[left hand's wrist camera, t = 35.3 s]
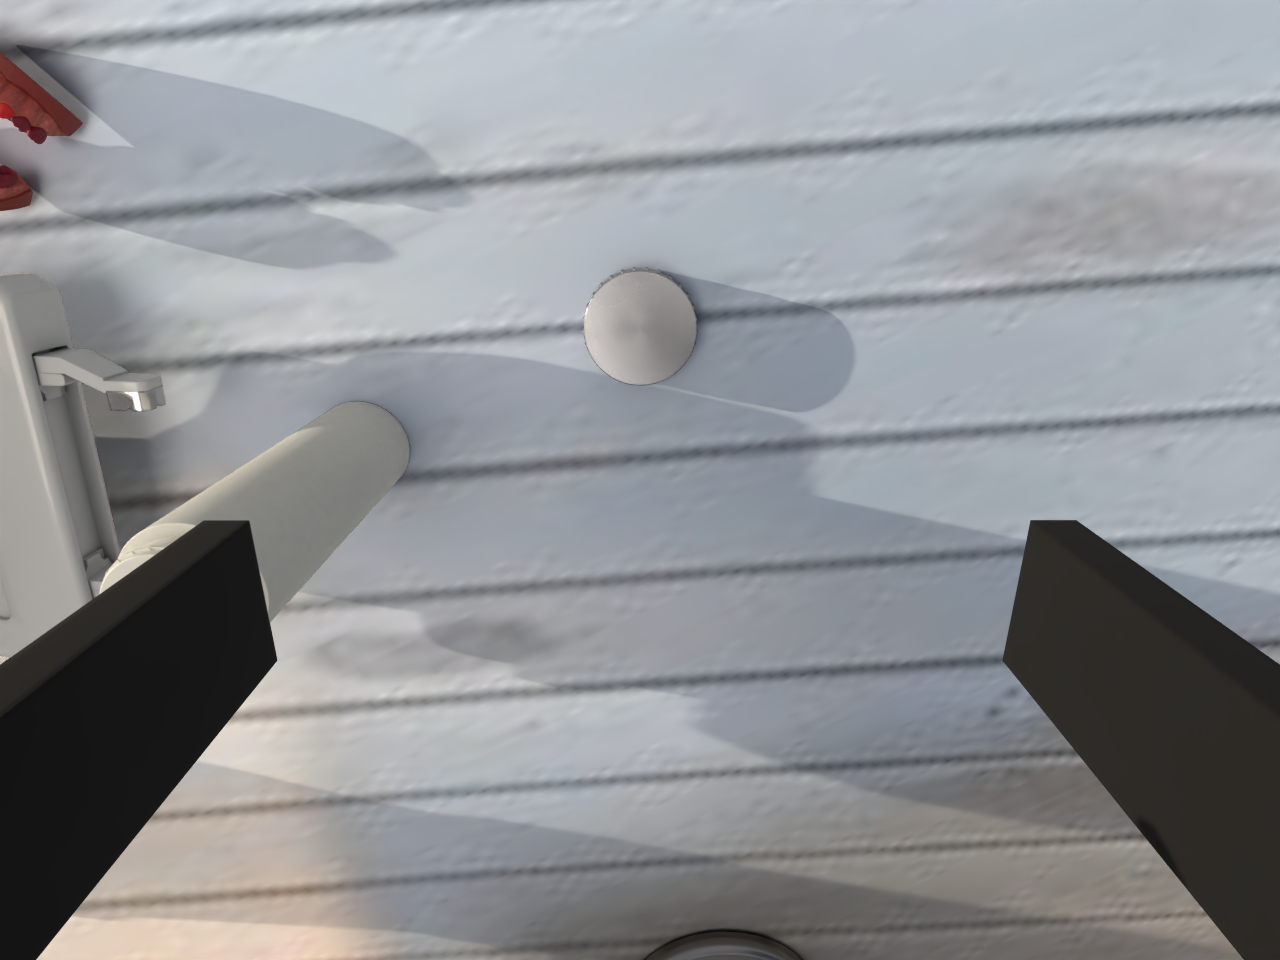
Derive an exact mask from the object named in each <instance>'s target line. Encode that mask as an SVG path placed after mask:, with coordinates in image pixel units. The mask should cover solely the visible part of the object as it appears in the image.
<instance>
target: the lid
mask: <svg viewBox="0 0 1280 960" xmlns="http://www.w3.org/2000/svg"><path fill="white" fill-rule="evenodd" d="M688 297H689V295H688V293H687V292H686V293H685V291H684V290H683V289H682V287H681V284H680V283H677V282H676V281H674V280H673V279H672V277H671V276H670V275H669V276H667V275H665V274H663V273H661V272H660V270H658V271H655V270H651V269H648V267H646V269H643V268H638V269H635V267H633V269H630V270H625V271H623V270H621V272H620V273H617V274H616V275H614V276H612V275H611V276H610V277H609V279H608V280H606V281H605V282H604V283H601V284H600V287H599V288H598V290H597V291H596V292H593V294H592V299H591V301H590V303H588V304H587V306H586V308H587V310H586V314H585V316H584V318H583V320H584V329H583V332H584V338H585V345H586V346H587V349H588V351H589V353H590V356H591V357H592V359H593V360H594V362H595V363H596V365H597V366H598V367H599V368H600V369H601V370H602V371H604V372H605V373H606V374H607V375H609V376H610V377H612V378H613V379H616V380H618V381H620V382H623V383H626V384H631V385H650V384H655V383H658V382H661V381H663V380H665V379H667V378H669V377H670V376H672V375H673V374H675V373H676V372H677V371H678V370H679V369H680V368H681V367H682V366H683V365H684V364H685V363H686V361H687V360H688V358H689V357H690V356H691V353H692V351H693V348H694V345H695V344H696V343H695V341H696V336H697V333H698V330H697V320H698V319H697V317H696V315H695V311H694V308H695V307H694V305H693V303H691V301H690V299H689V298H688Z"/></svg>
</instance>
